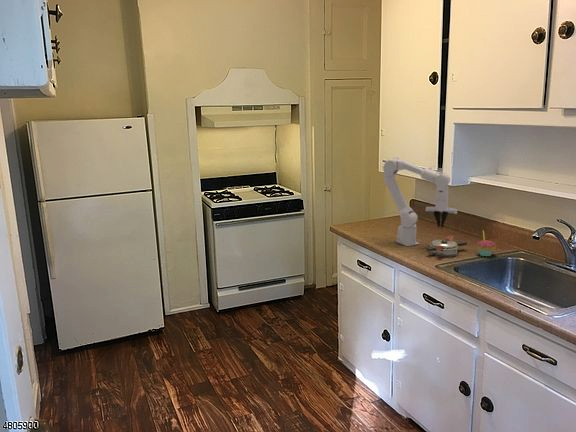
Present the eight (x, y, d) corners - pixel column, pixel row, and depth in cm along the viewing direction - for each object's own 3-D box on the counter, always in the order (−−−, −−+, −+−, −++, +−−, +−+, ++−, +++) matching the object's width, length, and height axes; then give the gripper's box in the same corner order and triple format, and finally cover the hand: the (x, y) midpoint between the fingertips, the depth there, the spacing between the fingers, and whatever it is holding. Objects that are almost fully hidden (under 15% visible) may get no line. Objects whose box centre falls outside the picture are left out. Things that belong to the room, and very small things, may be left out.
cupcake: (472, 255, 225) (474, 230, 222) (480, 251, 231) (482, 226, 228) (490, 259, 219) (492, 233, 216) (498, 254, 225) (500, 229, 222)
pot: (418, 252, 230) (418, 244, 230) (455, 246, 239) (455, 238, 239) (436, 260, 219) (437, 251, 218) (474, 253, 228) (475, 244, 227)
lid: (451, 251, 217) (452, 248, 216) (426, 248, 222) (426, 244, 222) (462, 239, 236) (462, 235, 235) (438, 236, 241) (439, 233, 241)
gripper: (424, 199, 233) (423, 227, 236) (455, 202, 226) (454, 230, 229) (428, 197, 239) (427, 223, 242) (458, 199, 232) (457, 226, 235)
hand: (440, 226), depth 236 cm, fingers closed
